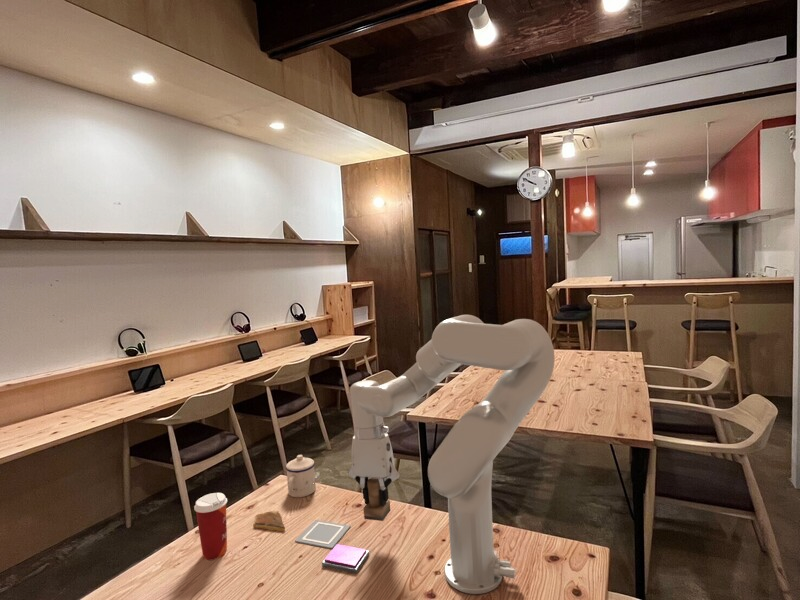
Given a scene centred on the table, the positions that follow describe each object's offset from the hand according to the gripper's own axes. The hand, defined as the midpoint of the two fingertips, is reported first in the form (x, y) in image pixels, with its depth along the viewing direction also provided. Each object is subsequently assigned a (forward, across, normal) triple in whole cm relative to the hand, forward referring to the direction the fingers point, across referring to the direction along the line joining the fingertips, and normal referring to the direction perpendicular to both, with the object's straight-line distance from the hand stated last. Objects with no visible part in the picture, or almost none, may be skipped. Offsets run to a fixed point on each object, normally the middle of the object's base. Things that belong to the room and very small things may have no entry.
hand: (376, 501), depth 109 cm
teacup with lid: (+9, +35, -17) cm, 41 cm away
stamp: (+3, 0, 0) cm, 3 cm away
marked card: (+10, +16, 0) cm, 19 cm away
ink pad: (+11, +5, +8) cm, 14 cm away
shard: (+10, +33, -1) cm, 35 cm away
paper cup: (+10, +39, +15) cm, 43 cm away
